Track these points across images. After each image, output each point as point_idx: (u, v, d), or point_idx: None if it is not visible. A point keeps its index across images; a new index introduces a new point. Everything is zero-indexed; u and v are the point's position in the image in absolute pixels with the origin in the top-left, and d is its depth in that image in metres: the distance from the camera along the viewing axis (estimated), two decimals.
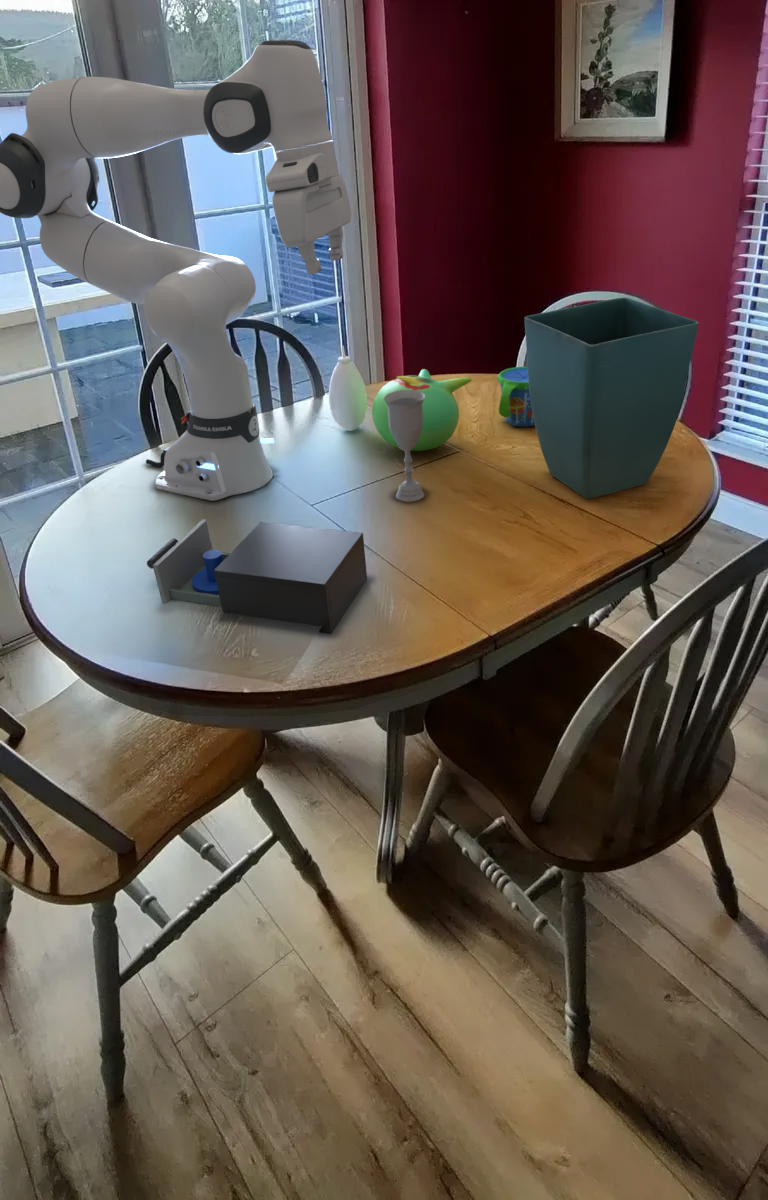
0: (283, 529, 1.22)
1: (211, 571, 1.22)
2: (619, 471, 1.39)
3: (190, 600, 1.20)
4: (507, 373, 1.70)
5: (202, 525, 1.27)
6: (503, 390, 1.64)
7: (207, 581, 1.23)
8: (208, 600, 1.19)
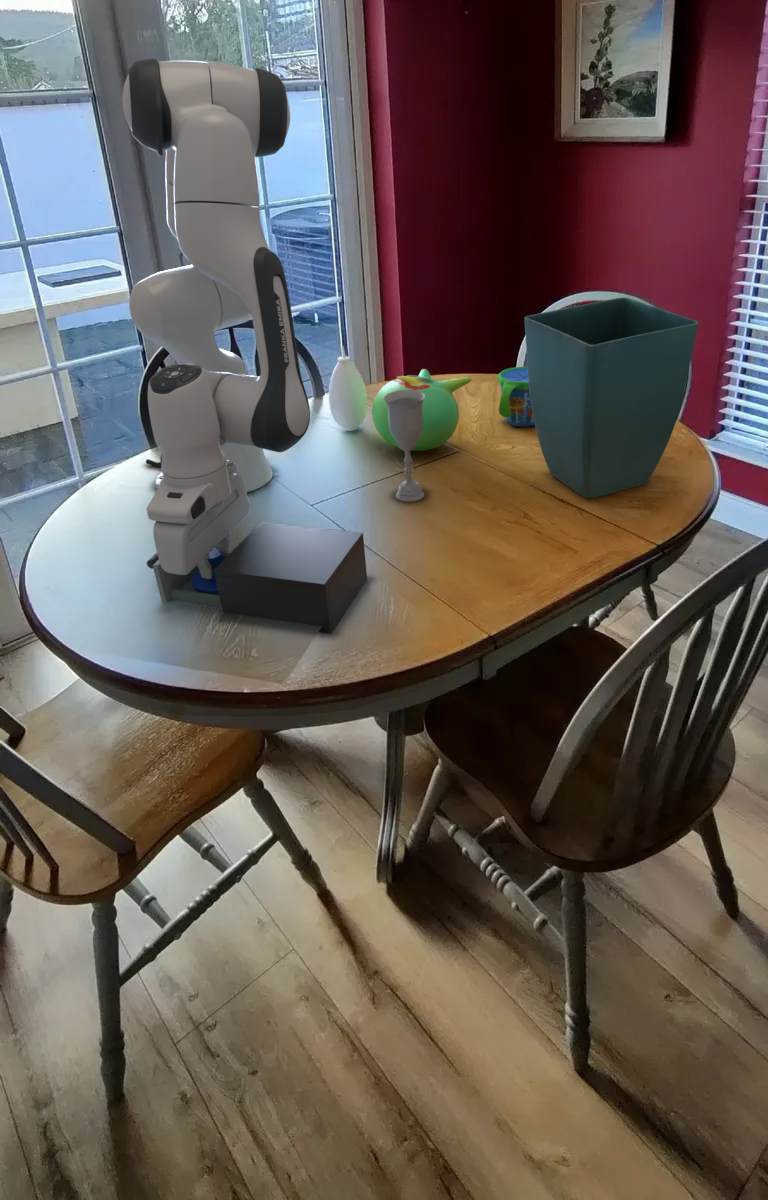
0: (283, 529, 1.22)
1: None
2: (619, 471, 1.39)
3: (190, 600, 1.20)
4: (507, 373, 1.70)
5: None
6: (503, 390, 1.64)
7: (207, 581, 1.23)
8: (208, 600, 1.19)
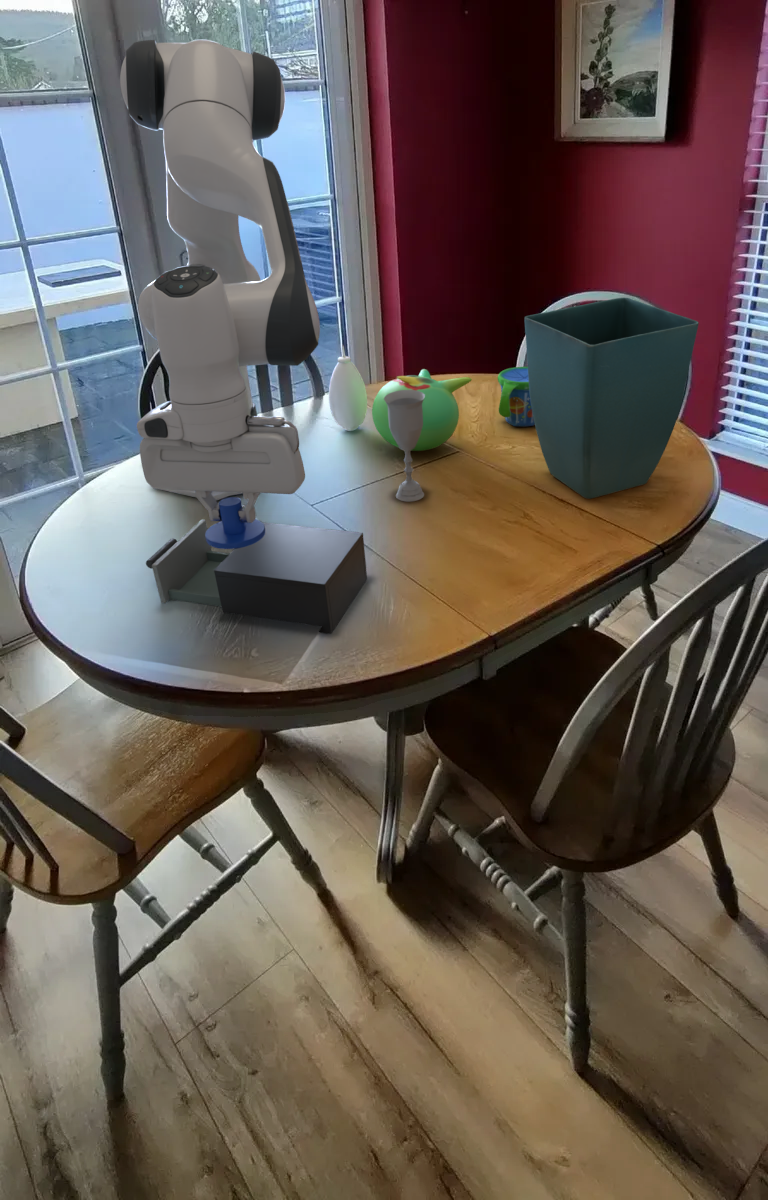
0: (283, 529, 1.22)
1: None
2: (619, 471, 1.39)
3: (189, 599, 1.20)
4: (507, 373, 1.70)
5: (201, 525, 1.27)
6: (503, 390, 1.64)
7: None
8: (207, 599, 1.19)
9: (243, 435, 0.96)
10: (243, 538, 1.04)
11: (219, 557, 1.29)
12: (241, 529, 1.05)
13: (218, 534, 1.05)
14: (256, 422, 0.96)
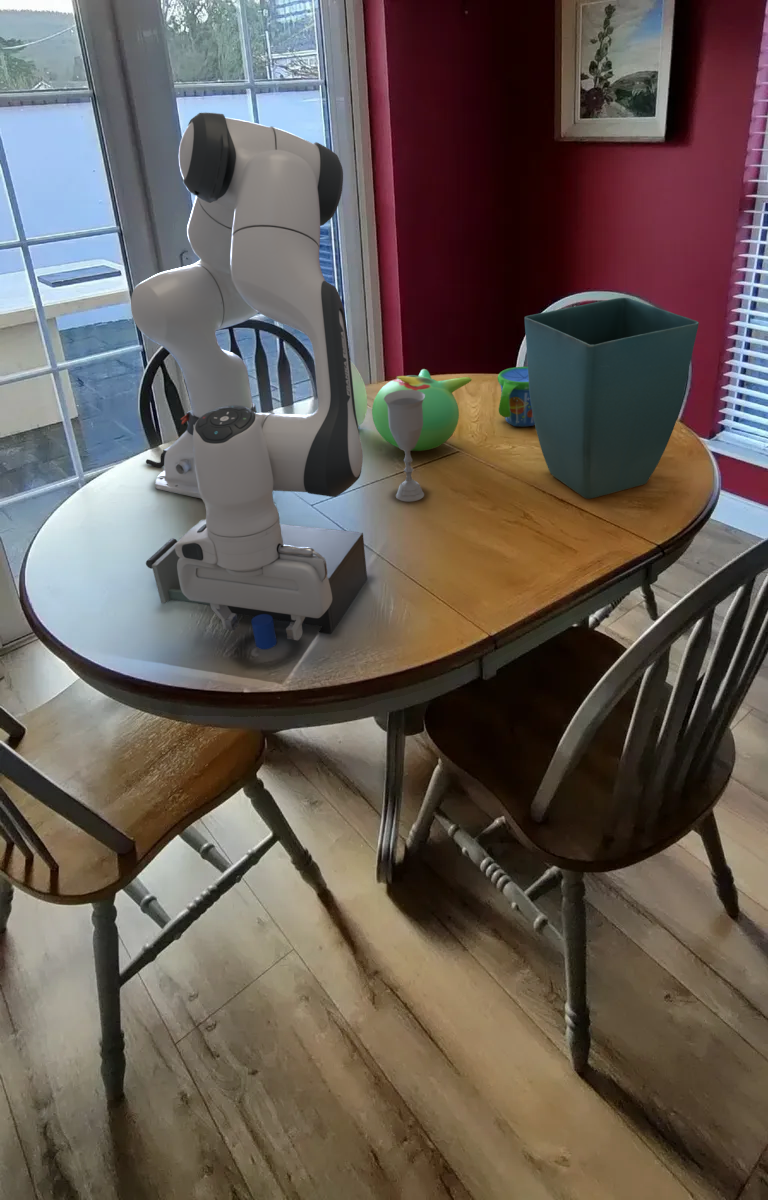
0: (283, 529, 1.22)
1: None
2: (619, 471, 1.39)
3: None
4: (507, 373, 1.70)
5: None
6: (503, 390, 1.64)
7: None
8: None
9: (274, 563, 1.01)
10: None
11: None
12: (272, 645, 1.09)
13: None
14: (286, 551, 1.00)
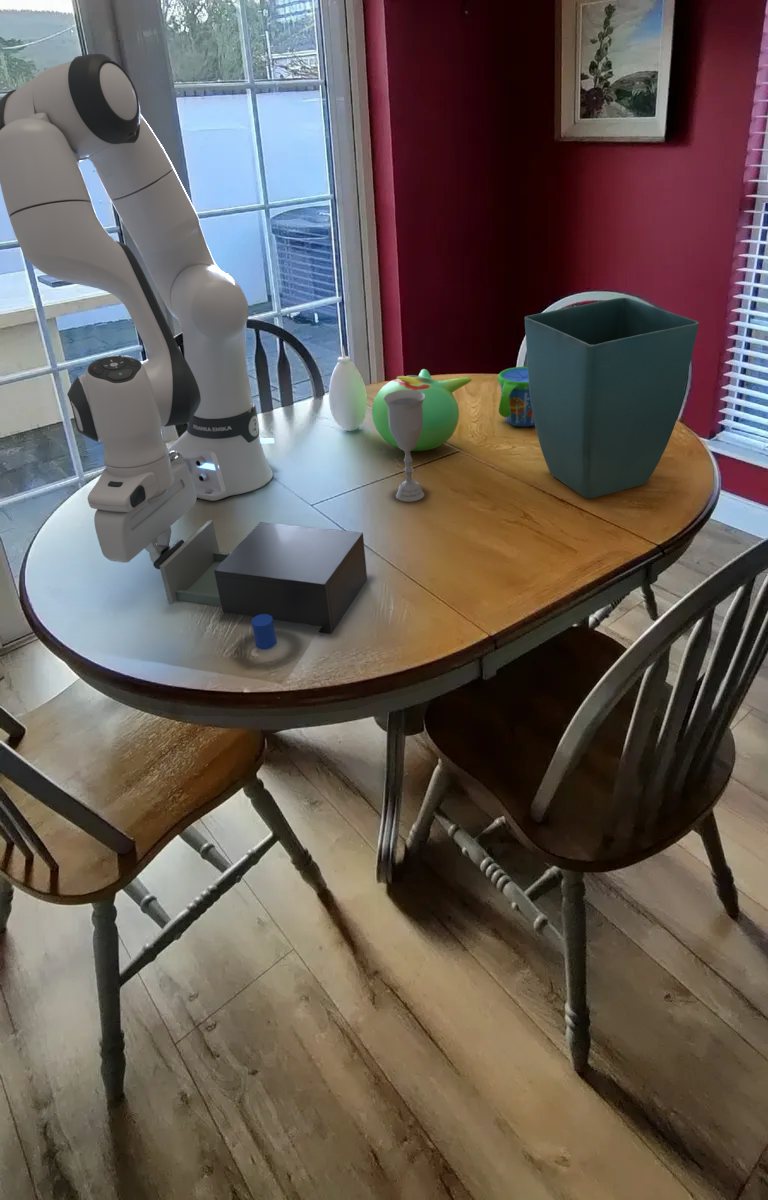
0: (283, 529, 1.22)
1: None
2: (619, 471, 1.39)
3: (196, 600, 1.20)
4: (507, 373, 1.70)
5: (208, 525, 1.27)
6: (503, 390, 1.64)
7: None
8: (215, 601, 1.18)
9: None
10: None
11: None
12: (272, 645, 1.09)
13: None
14: None
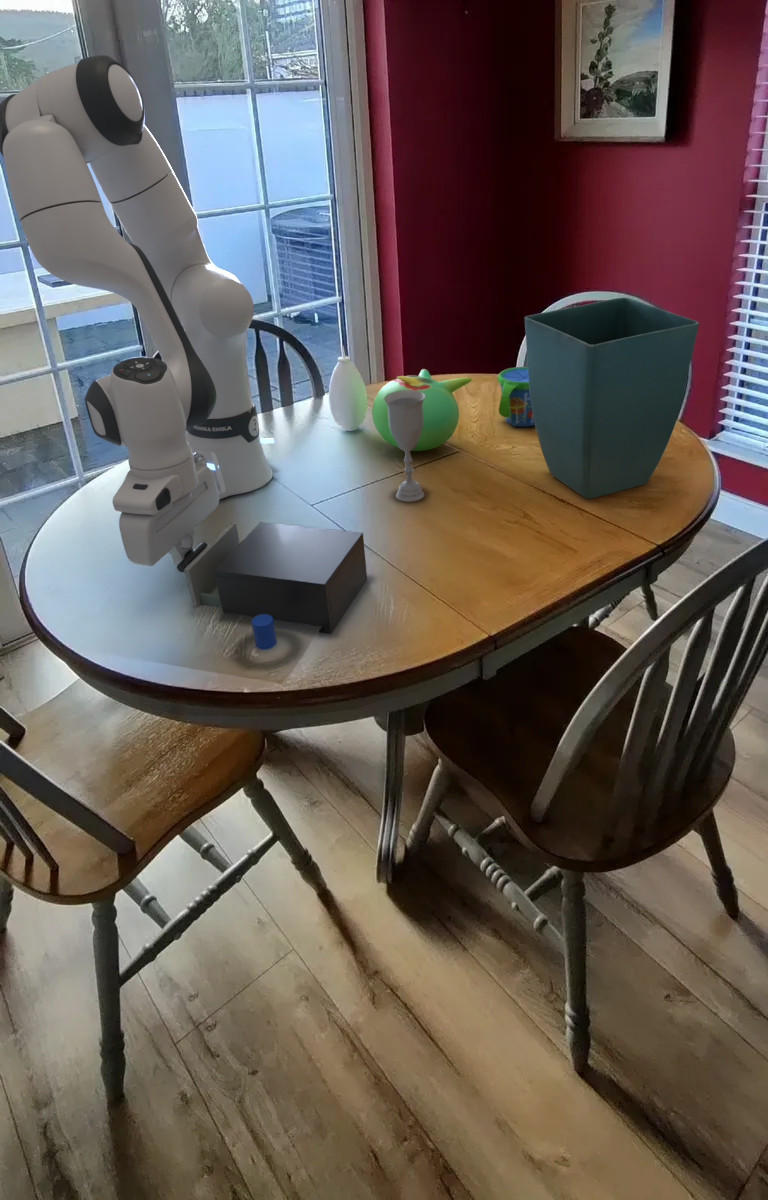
0: (283, 529, 1.22)
1: None
2: (619, 471, 1.39)
3: None
4: (507, 373, 1.70)
5: (231, 528, 1.25)
6: (503, 390, 1.64)
7: None
8: None
9: None
10: None
11: None
12: (272, 645, 1.09)
13: None
14: None
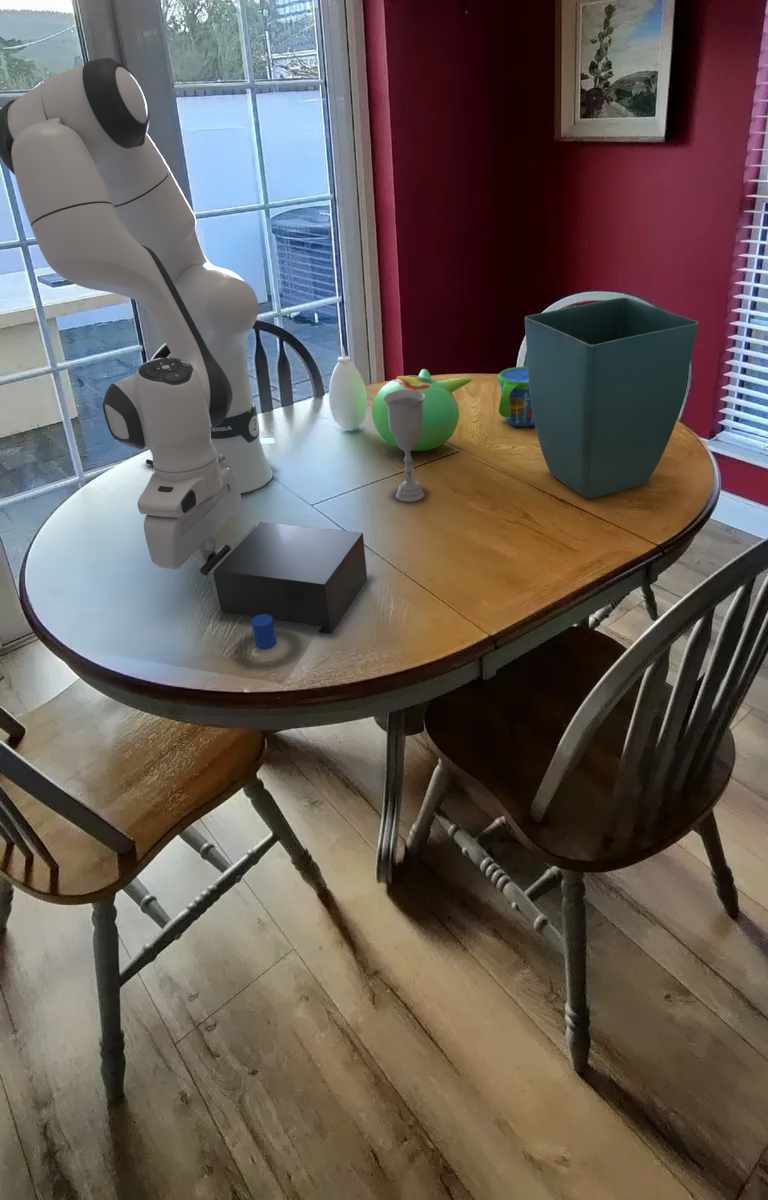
0: (283, 529, 1.22)
1: None
2: (619, 471, 1.39)
3: None
4: (507, 373, 1.70)
5: None
6: (503, 390, 1.64)
7: None
8: None
9: None
10: None
11: None
12: (272, 645, 1.09)
13: None
14: None
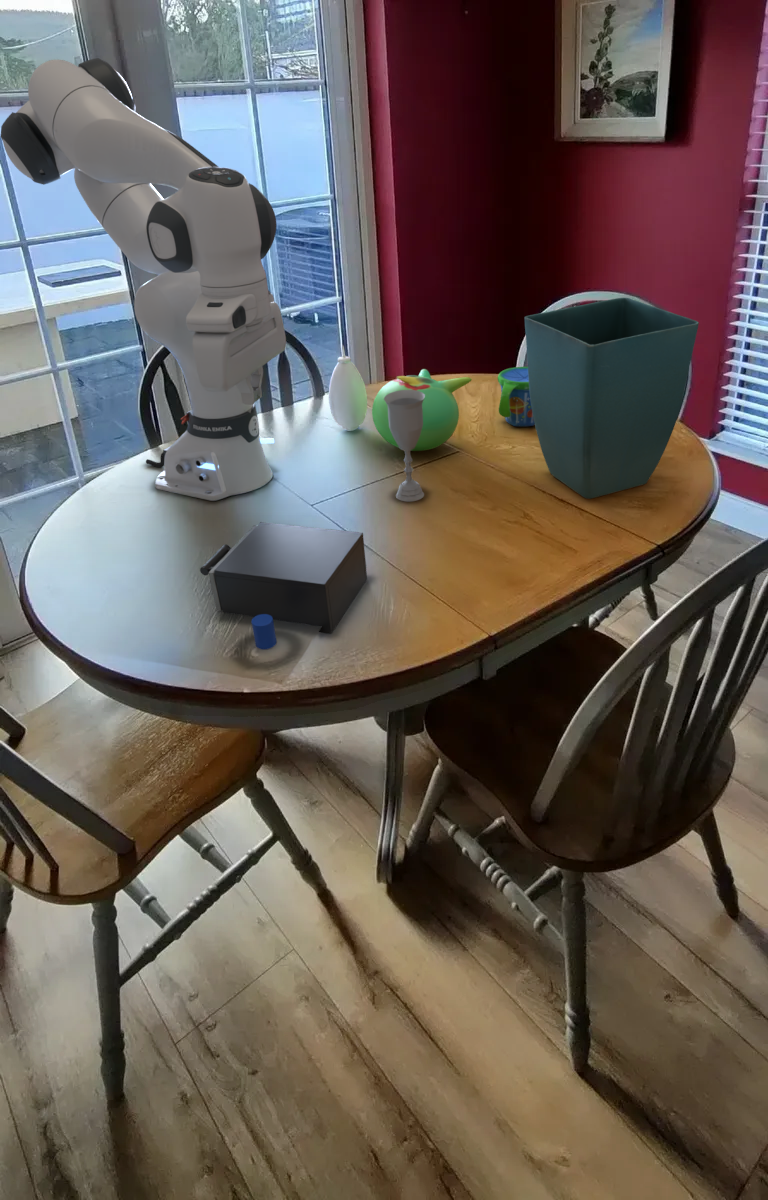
0: (283, 529, 1.22)
1: None
2: (619, 471, 1.39)
3: None
4: (507, 373, 1.70)
5: None
6: (503, 390, 1.64)
7: None
8: None
9: None
10: None
11: None
12: (272, 645, 1.09)
13: None
14: None
